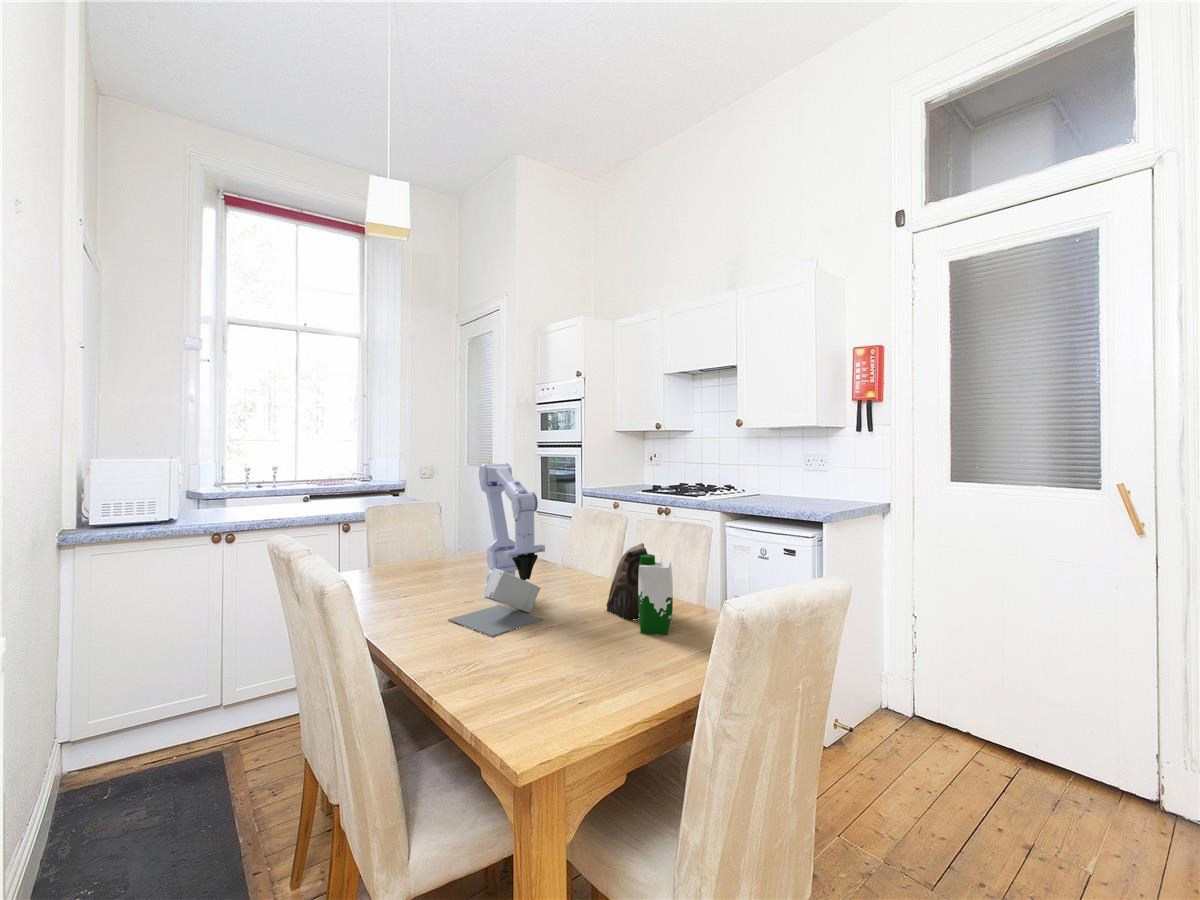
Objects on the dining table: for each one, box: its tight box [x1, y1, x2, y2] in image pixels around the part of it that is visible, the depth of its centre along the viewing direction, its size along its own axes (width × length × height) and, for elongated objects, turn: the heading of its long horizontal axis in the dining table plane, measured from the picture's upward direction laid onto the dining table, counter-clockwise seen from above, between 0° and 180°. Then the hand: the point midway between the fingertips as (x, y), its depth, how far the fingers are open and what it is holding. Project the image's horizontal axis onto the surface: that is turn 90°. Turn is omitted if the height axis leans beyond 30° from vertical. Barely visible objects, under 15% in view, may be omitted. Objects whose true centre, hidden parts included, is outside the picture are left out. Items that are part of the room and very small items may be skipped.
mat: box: [447, 604, 544, 638], centre depth 156 cm, size 20×18×1 cm
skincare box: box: [482, 568, 541, 614], centre depth 162 cm, size 8×6×15 cm
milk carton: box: [638, 553, 674, 636], centre depth 148 cm, size 9×9×20 cm
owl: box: [606, 542, 649, 621], centre depth 161 cm, size 13×13×20 cm
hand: (525, 579), depth 164 cm, fingers closed
